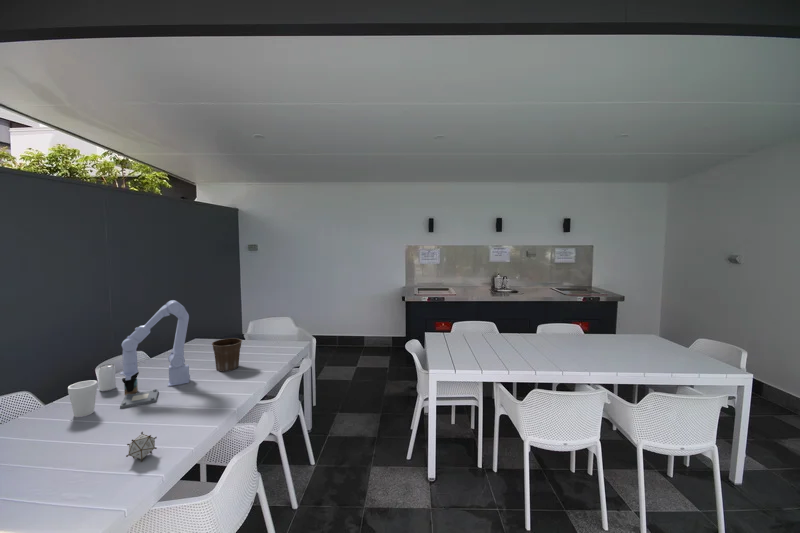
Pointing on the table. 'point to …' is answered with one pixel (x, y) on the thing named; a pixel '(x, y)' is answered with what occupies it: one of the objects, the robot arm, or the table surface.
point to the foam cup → (83, 397)
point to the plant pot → (227, 353)
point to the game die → (141, 446)
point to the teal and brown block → (133, 389)
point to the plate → (139, 398)
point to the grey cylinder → (107, 377)
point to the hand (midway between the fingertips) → (131, 389)
